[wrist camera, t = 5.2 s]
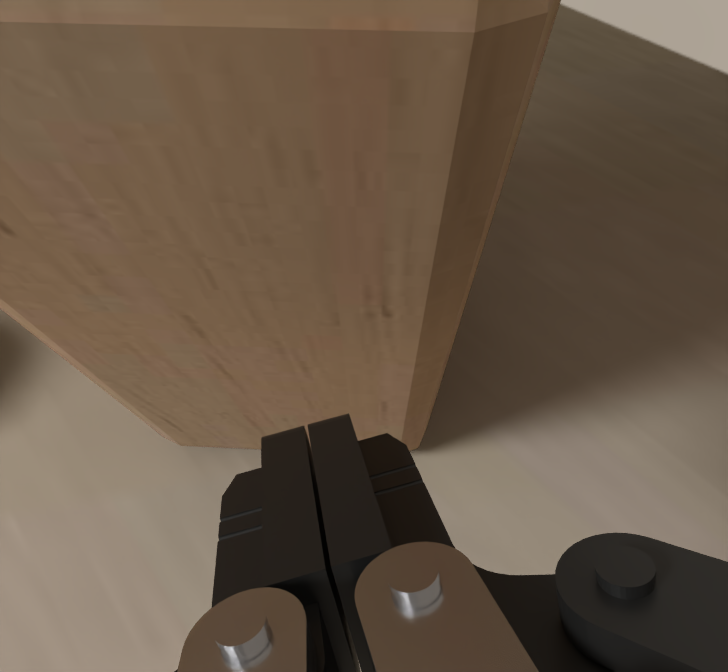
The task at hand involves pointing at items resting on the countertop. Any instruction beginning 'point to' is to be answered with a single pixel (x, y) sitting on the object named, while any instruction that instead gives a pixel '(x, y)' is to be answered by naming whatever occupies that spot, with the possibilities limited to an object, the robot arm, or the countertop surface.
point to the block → (257, 198)
